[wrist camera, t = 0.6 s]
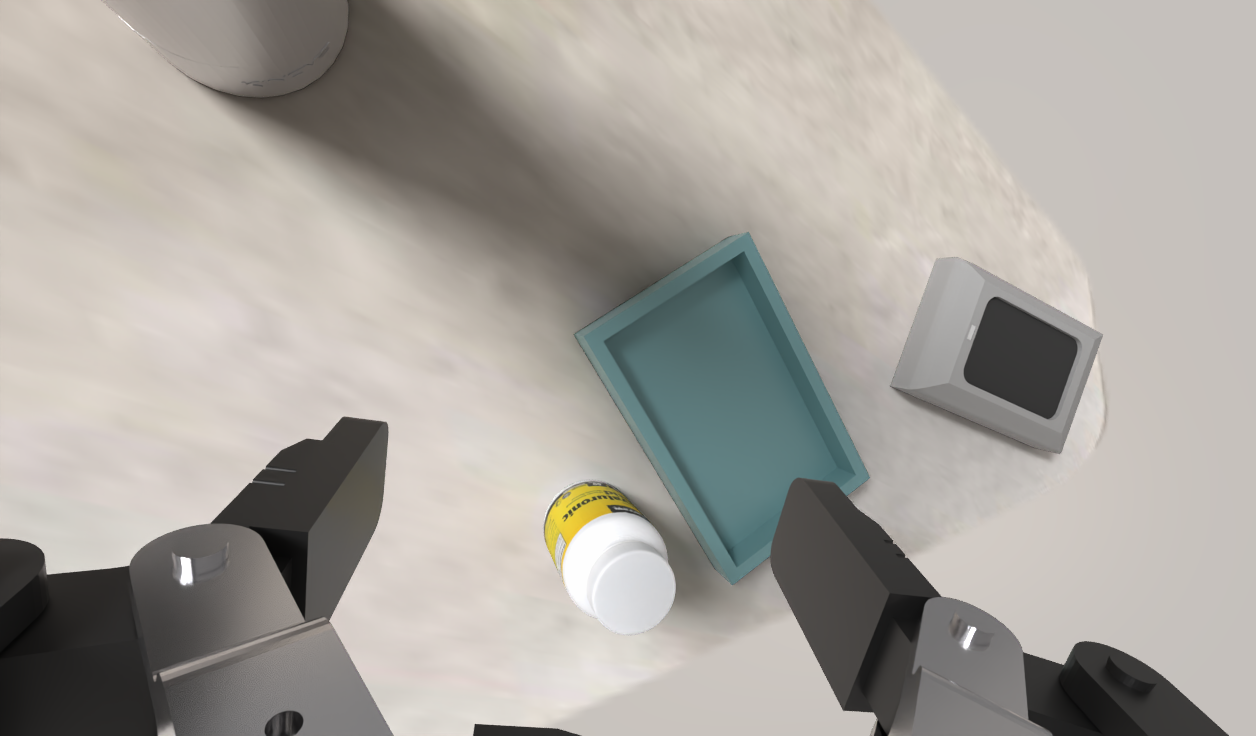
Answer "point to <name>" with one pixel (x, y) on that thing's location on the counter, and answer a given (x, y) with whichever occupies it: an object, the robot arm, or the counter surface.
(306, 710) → the robot arm
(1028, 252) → the counter surface
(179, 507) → the counter surface
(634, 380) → the tray
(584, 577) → the supplement bottle
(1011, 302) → the gray beveled slab
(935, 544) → the counter surface
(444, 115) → the counter surface
